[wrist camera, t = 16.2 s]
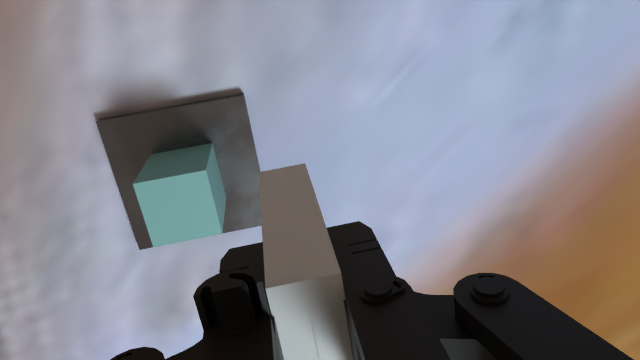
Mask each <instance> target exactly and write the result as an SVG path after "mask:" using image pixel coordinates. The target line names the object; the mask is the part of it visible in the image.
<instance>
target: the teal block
mask: <svg viewBox="0 0 640 360" xmlns="http://www.w3.org/2000/svg"><path fill="white" fill-rule="evenodd" d="M133 186H134V190H135V193H136V196H137V199H138V202H139V205H140V208H141V211H142V214H143V217H144V220H145V223H146V226H147V229H148V233H149V236H150V239H151V242H152V245H153V247H157V246H162V245H167V244H172V243H177V242H182V241H187V240H192V239H197V238H202V237H207V236H212V235H217V234H222V232H223V223H224V214H225V205H226V195H225V191H224V187H223V183H222V179H221V175H220V171H219V167H218V163H217V159H216V155H215V151H214V147H213V143H210V144H204V145H199V146H194V147H188V148H183V149H177V150H172V151H167V152H161V153H156V154H151V155H150V157H149V158H148V160H147V161H146V163H145V165H144V166H143V168H142V170H141V171H140V173H139V174H138V176H137V178H136V179H135V181H134V183H133Z"/></svg>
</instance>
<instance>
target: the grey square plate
mask: <svg viewBox="0 0 640 360" xmlns="http://www.w3.org/2000/svg"><path fill="white" fill-rule="evenodd" d="M96 123H97V126H98V129H99V132H100V134H101V137H102V140H103V143H104V146H105V149H106V152H107V155H108V158H109V161H110V164H111V167H112V170H113V173H114V176H115V179H116V182H117V185H118V188H119V191H120V194H121V197H122V199H123V202H124V205H125V208H126V211H127V214H128V217H129V220H130V223H131V226H132V229H133V232H134V235H135V238H136V241H137V244H138V247H139V250H141V249H146V248H151V247H153V245H152V242H151V239H150V236H149V233H148V229H147V226H146V223H145V220H144V217H143V214H142V211H141V208H140V205H139V202H138V199H137V196H136V193H135V190H134V186H133V183H134V181H135V179H136V178H137V176H138V174H139V173H140V171H141V170H142V168H143V166H144V165H145V163H146V161H147V160H148V158H149V157H150V155H151V154H156V153H161V152H167V151H172V150H177V149H183V148H188V147H194V146H199V145H204V144H210V143H213V147H214V151H215V155H216V159H217V163H218V167H219V171H220V175H221V179H222V183H223V187H224V191H225V195H226V205H225V214H224V223H223V232H222V233H226V232H231V231H236V230H241V229H246V228H251V227H256V226H261V225H262V218H261V200H260V183H259V172H260V168H259V163H258V158H257V154H256V149H255V144H254V139H253V135H252V130H251V125H250V121H249V116H248V111H247V107H246V102H245V97H244V94H238V95H233V96H227V97H222V98H216V99H210V100H205V101H199V102H194V103H188V104H182V105H177V106H171V107H166V108H160V109H155V110H149V111H143V112H138V113H132V114H127V115H121V116H115V117H110V118H104V119H99V120H98V121H97V122H96Z"/></svg>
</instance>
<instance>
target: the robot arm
mask: <svg viewBox="0 0 640 360" xmlns="http://www.w3.org/2000/svg"><path fill="white" fill-rule="evenodd" d="M259 183H260V200H261V218H262V236H263V242H261V243H256V244H251V245H246V246H241V247H236V248H232V249H229V250H228V252H227V253H226V254H225V256H224V257H223V258H222V259H221V262H220V271H219V272H220V273H219V274H216V275H215V276H213V277H211V278H209V279H207V280H206V281H204V282H203V283H202V284H201V285H200V286H199V287H198V288H197V290H196V292H195V294H194V296H193V297H194V300H195V303H196V307H197V310H198V313H199V317H200V320H201V323H202V326H203V330H204V334H203V339H202V340H201V341H199V342H198V343H197V344H195V345H194V346H192V347H190V348H188V349H187V350H185V351H183V352H180V353H178V354H176V355H174V356H171V357H169V358H167V359H165V358H164V356H163V353H162V352H160V351H159V350H157V349H156V348H149V347H141V348H136V349H130V350H128V351H126V352H123V353H121V354H119V355H116V356H115V357H114V358H112V359H111V360H633V359H632V358H631V357H629V356H628V355H626V354H625V353H623V352H622V351H620V350H619V349H617V348H616V347H614V346H613V345H611V344H610V343H608V342H607V341H605V340H604V339H602V338H601V337H599V336H598V335H596V334H595V333H593V332H592V331H590V330H589V329H587V328H586V327H584V326H583V325H581V324H580V323H579V322H577V321H576V320H574V319H573V318H571V317H570V316H568V315H567V314H565V313H564V312H562V311H561V310H559V309H558V308H556V307H555V306H553V305H552V304H550V303H549V302H547V301H546V300H544V299H543V298H541V297H540V296H538V295H537V294H535V293H534V292H532V291H531V290H529V289H528V288H527V287H525V286H524V285H522V284H521V283H519V282H518V281H516V280H514V279H511V278H509V277H507V276H504V275H500V274H495V273H477V274H473V275H469V276H466V277H465V278H463V279H461V280H460V281H458V282H457V284H456V285H455V287H454V288H453V290H454V295H428V294H422V293H417V292H414V291H413V290H412V288H411V286H410V285H409V284H408V283H407V282H406V281H405V280H403V279H401V278H399V277H396V275H395V273H394V271H393V269H392V267H391V266H390V264H389V262H388V260H387V258H386V256H385V254H384V252H383V250H382V249H381V246H380V244H379V243H378V241H377V239H376V237H375V235H374V233H373V231H372V229H371V228H370V227H368V226H366V225H364V224H363V223H361V222H359V221H358V222H353V223H348V224H343V225H338V226H334V227H329V228H326V225H325V222H324V219H323V216H322V213H321V210H320V207H319V204H318V201H317V198H316V195H315V192H314V189H313V186H312V183H311V180H310V177H309V174H308V171H307V168H306V165H305V164H300V165H294V166H289V167H284V168H279V169H274V170H268V171H263V172H259Z"/></svg>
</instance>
